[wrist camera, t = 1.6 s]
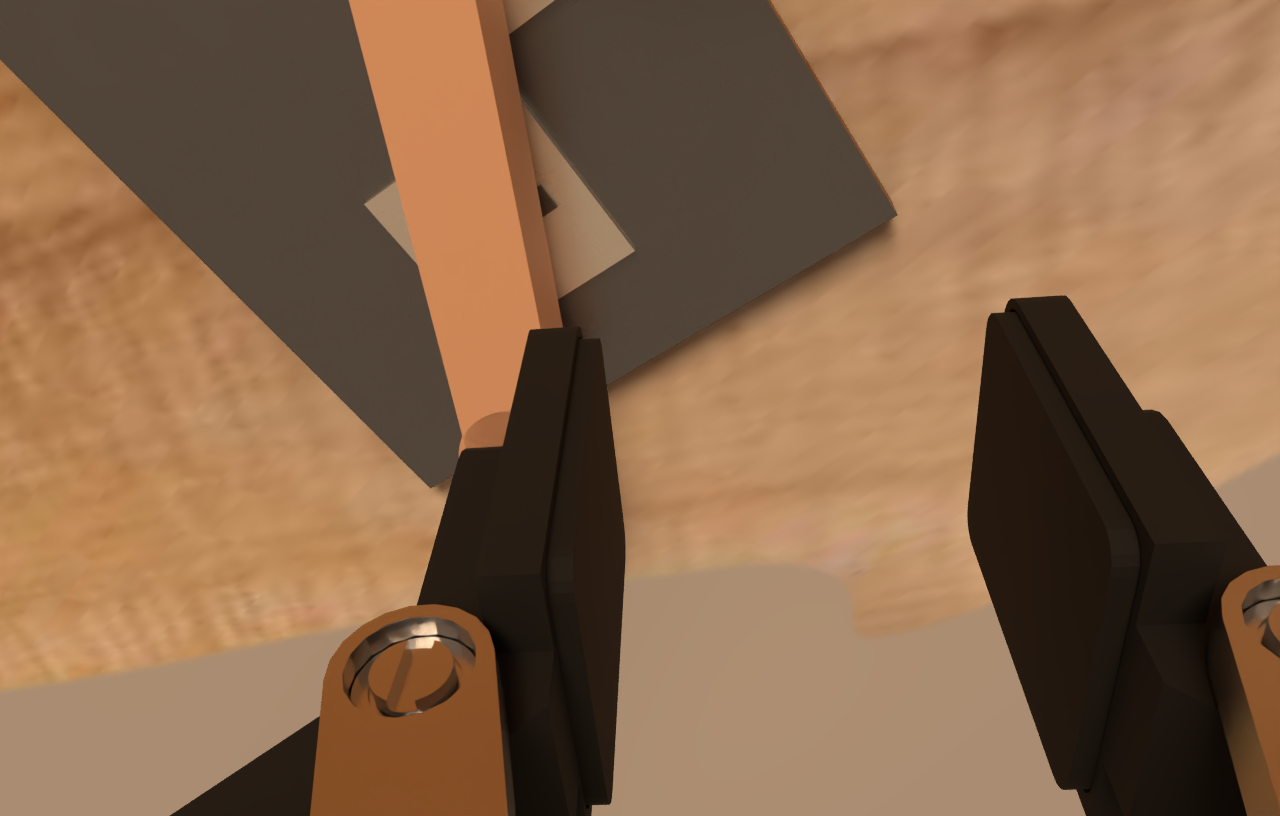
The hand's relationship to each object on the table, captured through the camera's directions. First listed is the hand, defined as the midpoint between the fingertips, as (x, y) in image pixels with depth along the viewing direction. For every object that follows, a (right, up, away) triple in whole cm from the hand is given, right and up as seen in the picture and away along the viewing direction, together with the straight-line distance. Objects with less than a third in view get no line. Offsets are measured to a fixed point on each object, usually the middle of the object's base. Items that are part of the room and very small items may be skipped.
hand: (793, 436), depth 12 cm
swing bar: (-6, +7, +14) cm, 17 cm away
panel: (-7, +9, +15) cm, 19 cm away
